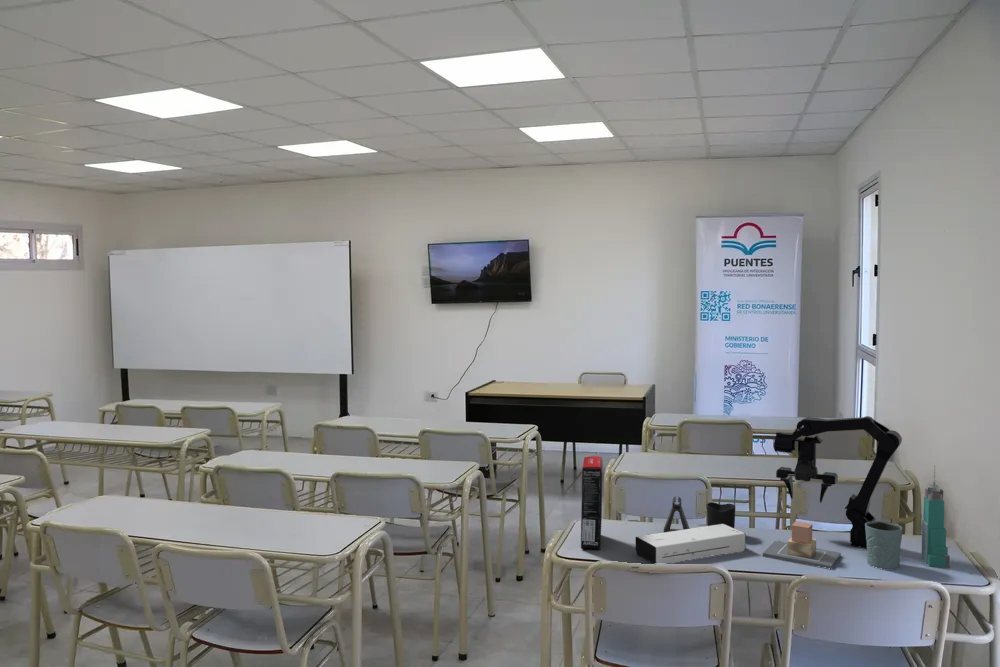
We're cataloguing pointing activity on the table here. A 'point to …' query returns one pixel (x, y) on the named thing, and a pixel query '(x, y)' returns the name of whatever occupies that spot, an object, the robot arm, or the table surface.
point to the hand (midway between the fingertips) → (806, 500)
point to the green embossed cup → (883, 544)
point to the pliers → (669, 521)
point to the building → (934, 529)
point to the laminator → (690, 543)
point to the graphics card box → (591, 502)
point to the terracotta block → (801, 532)
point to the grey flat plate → (818, 559)
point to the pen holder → (720, 514)
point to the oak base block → (801, 548)
